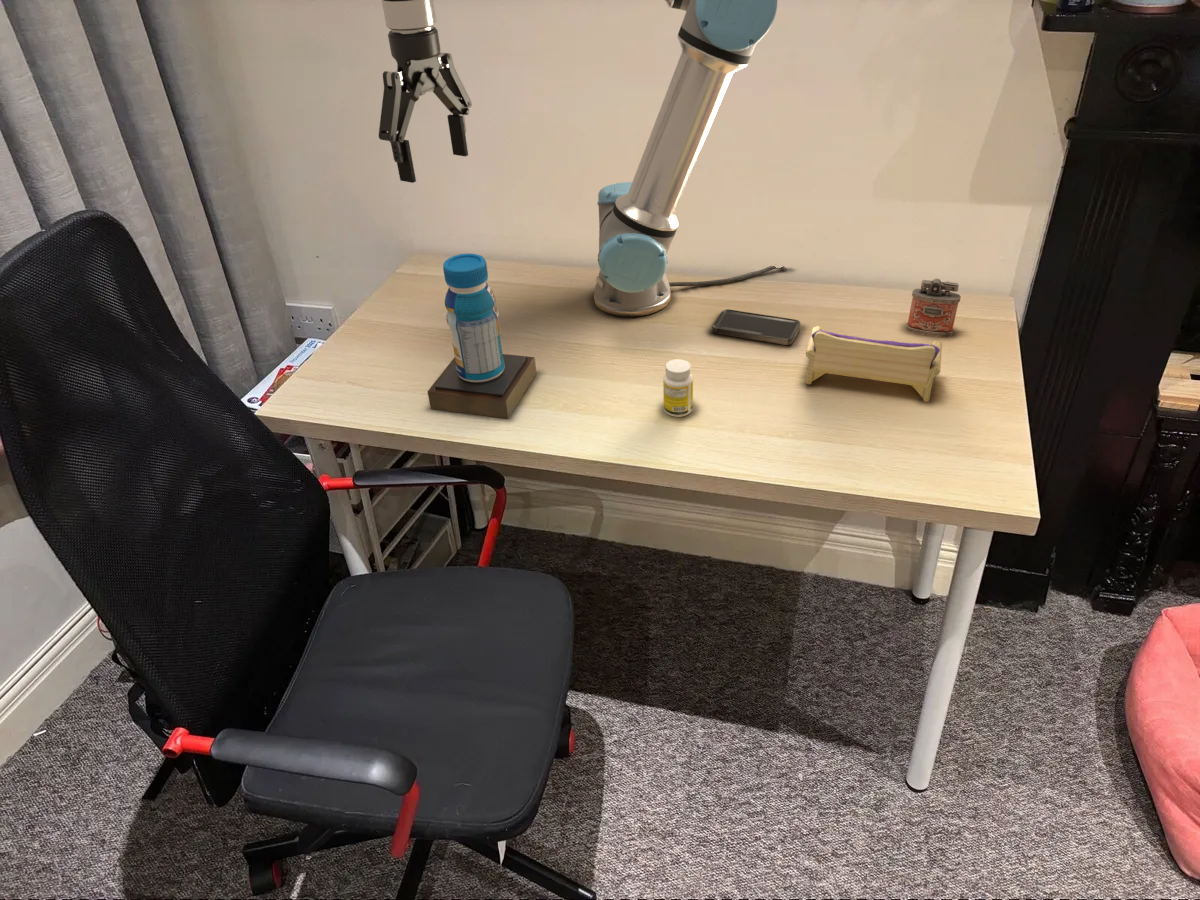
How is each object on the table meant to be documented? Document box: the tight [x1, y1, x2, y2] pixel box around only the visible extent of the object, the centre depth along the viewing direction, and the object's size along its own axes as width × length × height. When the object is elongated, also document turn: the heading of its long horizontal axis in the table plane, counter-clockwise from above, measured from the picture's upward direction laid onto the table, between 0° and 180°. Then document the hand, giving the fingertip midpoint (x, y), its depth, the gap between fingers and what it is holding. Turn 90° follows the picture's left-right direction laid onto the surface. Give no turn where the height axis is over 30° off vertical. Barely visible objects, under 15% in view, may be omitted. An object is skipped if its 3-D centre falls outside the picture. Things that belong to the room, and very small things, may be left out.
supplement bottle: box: [662, 358, 694, 418], centre depth 138 cm, size 5×5×8 cm
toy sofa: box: [805, 326, 943, 403], centre depth 141 cm, size 21×9×10 cm, turn 71°
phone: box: [712, 308, 801, 346], centre depth 160 cm, size 8×1×15 cm
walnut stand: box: [427, 353, 537, 420], centre depth 147 cm, size 14×14×4 cm
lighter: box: [905, 278, 962, 338], centre depth 153 cm, size 8×3×10 cm, turn 68°
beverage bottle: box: [442, 253, 505, 383], centre depth 140 cm, size 8×8×20 cm
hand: (435, 167), depth 143 cm, fingers open, 13 cm apart
